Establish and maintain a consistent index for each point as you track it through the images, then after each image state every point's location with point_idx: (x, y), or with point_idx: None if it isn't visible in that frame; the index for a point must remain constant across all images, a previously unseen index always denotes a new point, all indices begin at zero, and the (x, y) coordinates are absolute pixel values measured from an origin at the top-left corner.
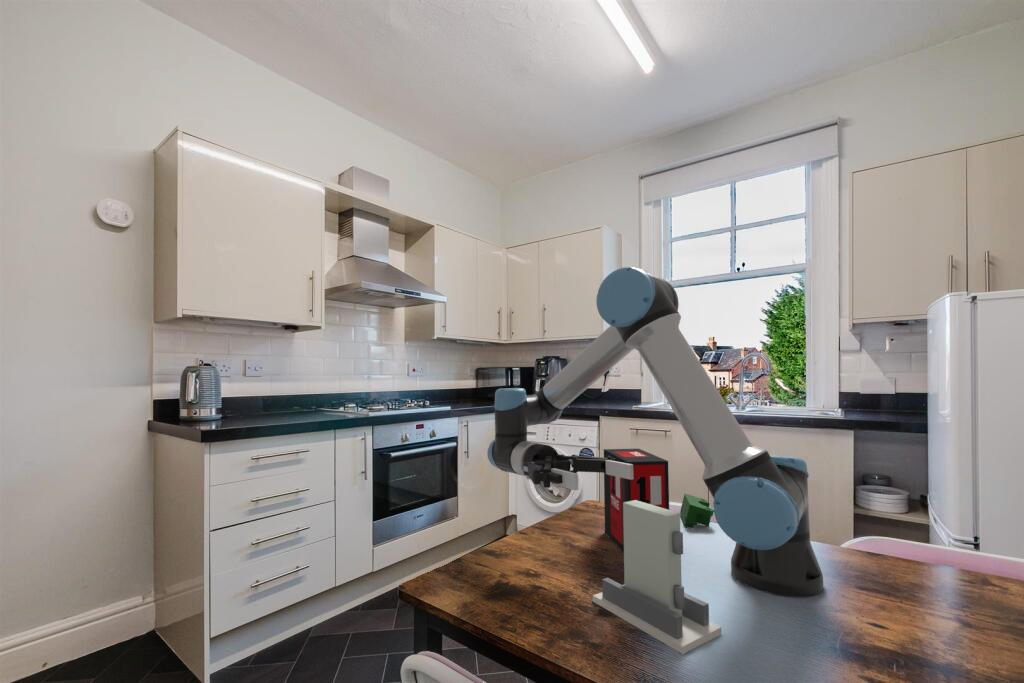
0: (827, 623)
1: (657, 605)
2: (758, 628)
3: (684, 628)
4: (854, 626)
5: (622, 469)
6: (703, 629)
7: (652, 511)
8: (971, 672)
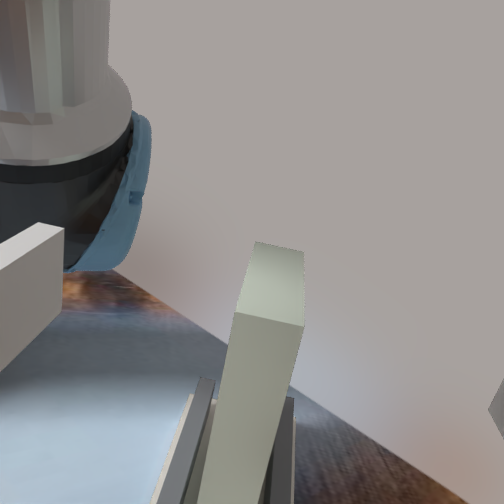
0: None
1: (285, 432)
2: (125, 372)
3: None
4: None
5: (22, 297)
6: None
7: (301, 270)
8: None
